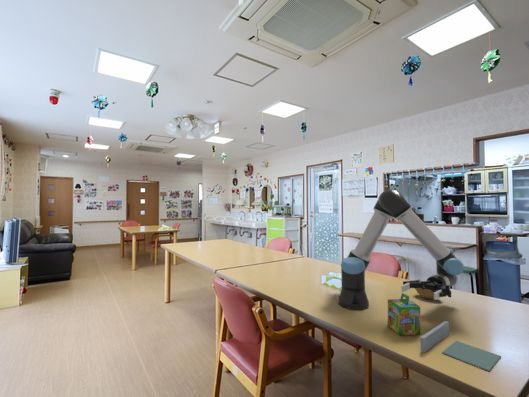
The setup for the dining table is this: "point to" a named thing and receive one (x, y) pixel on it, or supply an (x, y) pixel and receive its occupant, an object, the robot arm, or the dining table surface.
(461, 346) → the mat
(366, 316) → the dining table surface
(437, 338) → the low wall
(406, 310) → the chalk box
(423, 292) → the potato
